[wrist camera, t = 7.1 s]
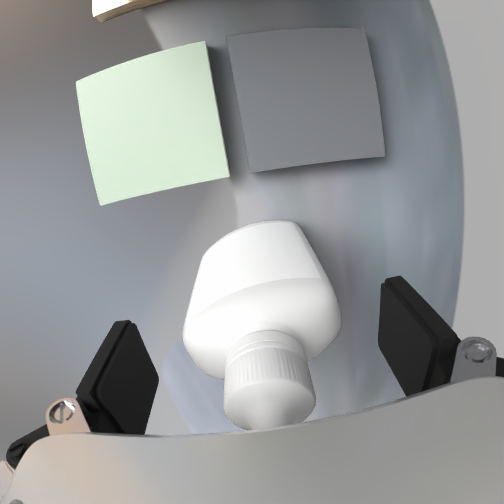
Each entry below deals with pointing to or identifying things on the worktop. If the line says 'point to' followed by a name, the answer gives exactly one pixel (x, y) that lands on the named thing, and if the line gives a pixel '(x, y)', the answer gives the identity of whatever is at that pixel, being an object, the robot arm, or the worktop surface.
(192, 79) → the sage pad
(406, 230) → the worktop surface
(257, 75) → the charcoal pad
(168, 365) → the worktop surface
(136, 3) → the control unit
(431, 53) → the worktop surface
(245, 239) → the eye dropper bottle
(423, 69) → the worktop surface
